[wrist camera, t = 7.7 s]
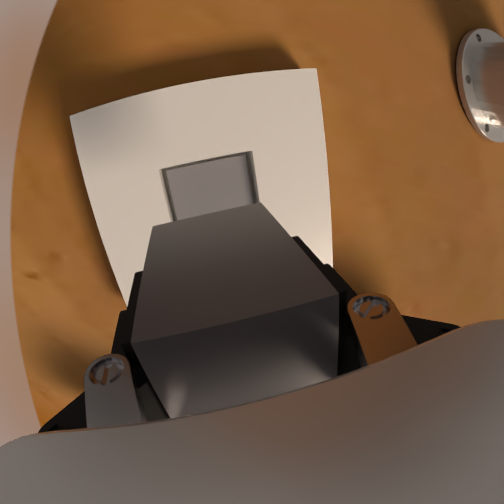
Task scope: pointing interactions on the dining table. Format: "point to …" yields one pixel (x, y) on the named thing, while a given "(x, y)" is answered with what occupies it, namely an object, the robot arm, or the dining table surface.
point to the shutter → (210, 186)
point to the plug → (232, 312)
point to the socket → (206, 156)
